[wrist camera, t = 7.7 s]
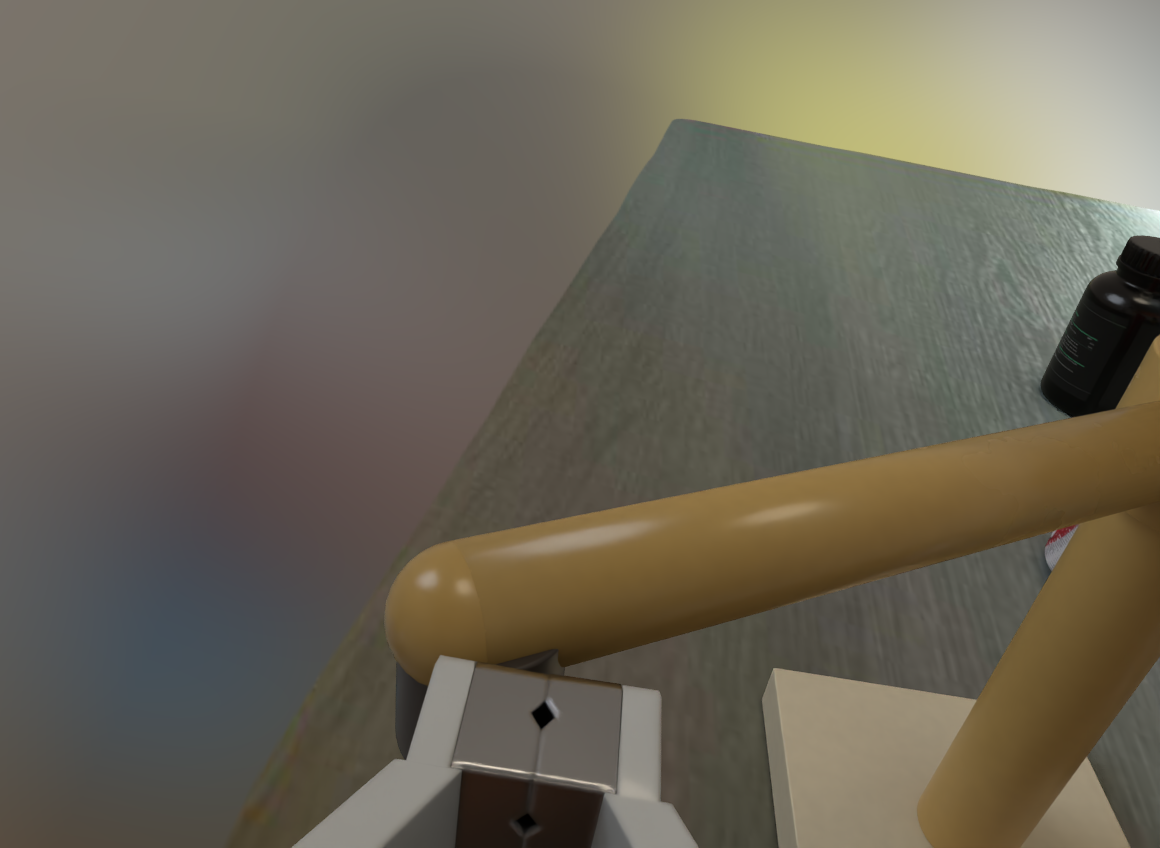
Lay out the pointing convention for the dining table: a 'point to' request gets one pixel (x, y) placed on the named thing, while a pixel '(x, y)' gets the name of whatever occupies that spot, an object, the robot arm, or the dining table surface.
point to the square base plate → (979, 723)
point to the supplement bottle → (1108, 333)
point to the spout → (761, 544)
